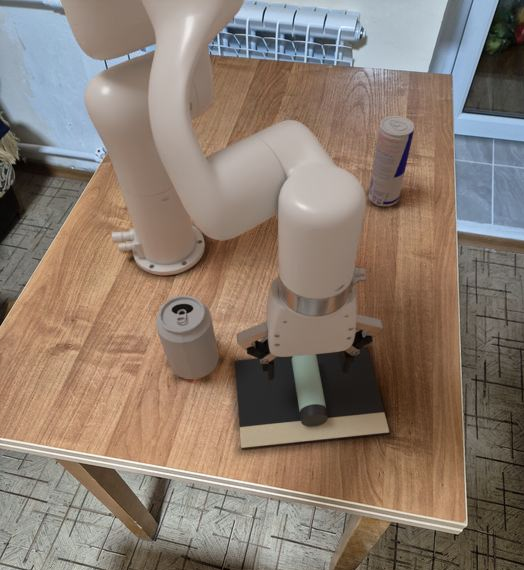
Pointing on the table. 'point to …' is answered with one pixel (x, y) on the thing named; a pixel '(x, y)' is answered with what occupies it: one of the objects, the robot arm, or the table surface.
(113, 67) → the robot arm
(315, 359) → the vial
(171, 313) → the can
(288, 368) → the book
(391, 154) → the beverage can
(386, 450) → the table surface
